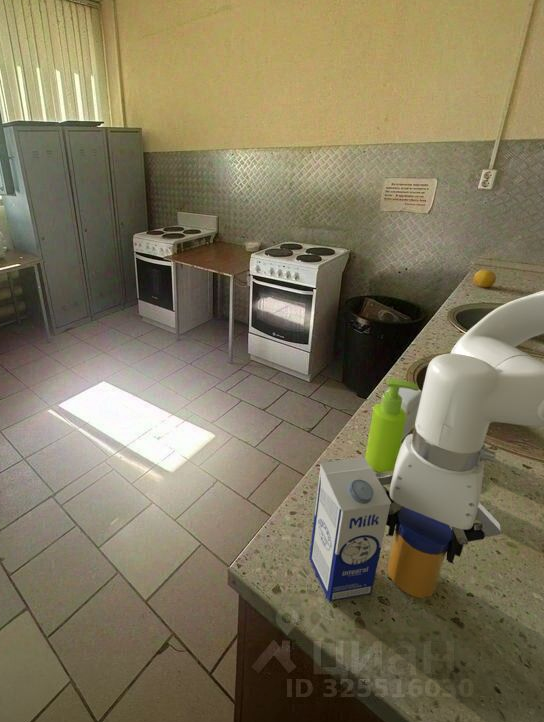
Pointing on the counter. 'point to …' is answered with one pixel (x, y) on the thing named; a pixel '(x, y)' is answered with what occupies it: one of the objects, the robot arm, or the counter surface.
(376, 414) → the soap dispenser
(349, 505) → the milk carton
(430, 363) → the robot arm
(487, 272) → the fruit
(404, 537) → the lid
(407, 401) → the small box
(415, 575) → the jar
